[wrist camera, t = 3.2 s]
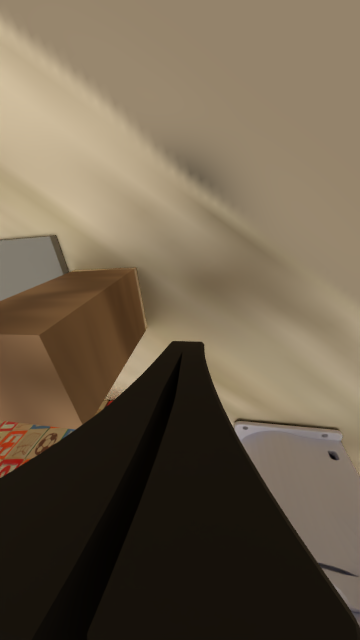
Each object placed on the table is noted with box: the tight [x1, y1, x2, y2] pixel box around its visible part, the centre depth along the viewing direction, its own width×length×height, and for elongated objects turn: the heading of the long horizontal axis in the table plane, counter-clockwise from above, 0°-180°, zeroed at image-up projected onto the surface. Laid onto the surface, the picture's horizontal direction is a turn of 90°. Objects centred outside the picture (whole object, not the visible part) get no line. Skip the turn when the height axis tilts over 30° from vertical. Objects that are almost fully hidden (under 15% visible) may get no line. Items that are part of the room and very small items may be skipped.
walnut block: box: [0, 267, 147, 430], centre depth 12 cm, size 5×5×9 cm
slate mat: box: [0, 235, 69, 301], centre depth 17 cm, size 11×10×1 cm
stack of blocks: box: [0, 400, 114, 478], centre depth 20 cm, size 21×6×12 cm, turn 109°
